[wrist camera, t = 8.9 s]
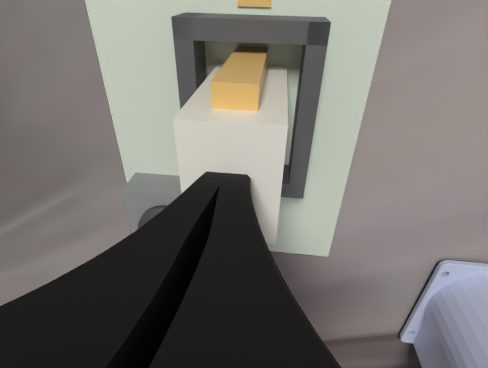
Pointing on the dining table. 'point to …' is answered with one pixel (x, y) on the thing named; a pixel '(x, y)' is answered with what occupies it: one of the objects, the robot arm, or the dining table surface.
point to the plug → (238, 129)
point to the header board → (217, 52)
